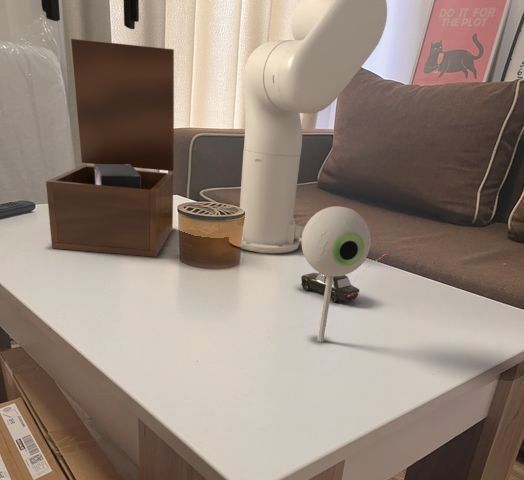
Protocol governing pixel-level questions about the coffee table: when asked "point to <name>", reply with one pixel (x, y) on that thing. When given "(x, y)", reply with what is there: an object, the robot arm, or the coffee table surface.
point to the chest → (110, 213)
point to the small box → (117, 175)
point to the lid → (125, 104)
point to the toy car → (339, 286)
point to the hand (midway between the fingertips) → (91, 24)
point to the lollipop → (335, 247)
